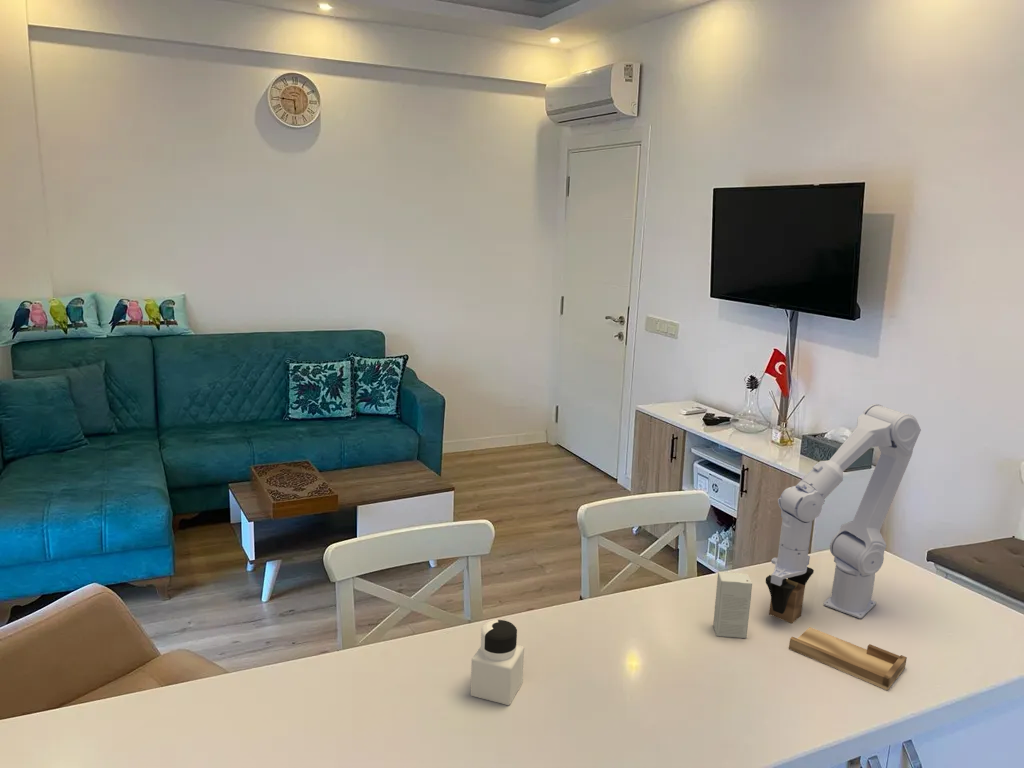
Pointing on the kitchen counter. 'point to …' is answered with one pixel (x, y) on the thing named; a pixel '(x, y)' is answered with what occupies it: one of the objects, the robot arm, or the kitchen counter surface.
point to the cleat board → (850, 657)
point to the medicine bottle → (497, 663)
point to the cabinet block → (791, 604)
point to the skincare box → (732, 604)
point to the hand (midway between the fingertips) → (786, 605)
